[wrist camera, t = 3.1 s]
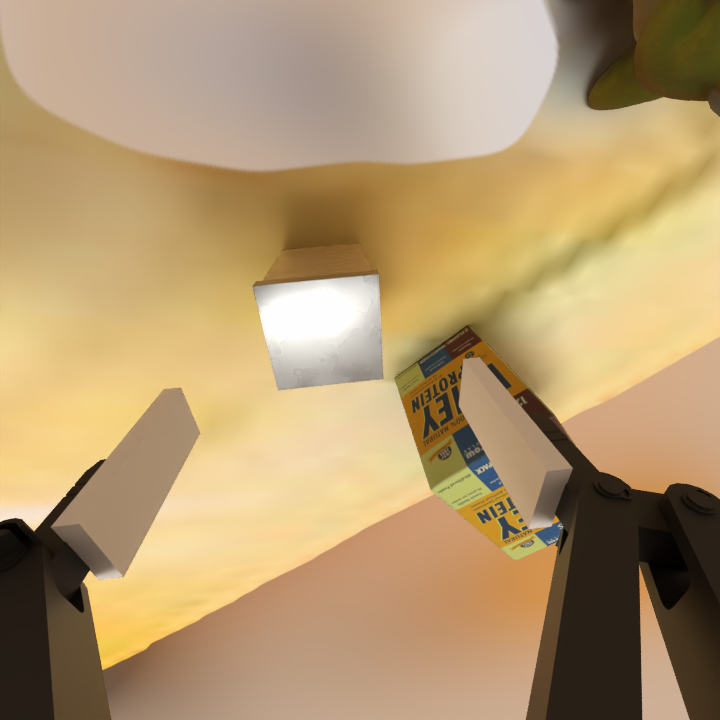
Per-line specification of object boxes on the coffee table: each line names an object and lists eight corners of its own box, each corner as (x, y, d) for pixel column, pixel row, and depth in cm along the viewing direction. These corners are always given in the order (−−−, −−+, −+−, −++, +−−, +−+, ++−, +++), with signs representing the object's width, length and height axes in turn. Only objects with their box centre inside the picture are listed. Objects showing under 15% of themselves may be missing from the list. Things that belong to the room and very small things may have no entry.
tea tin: (280, 247, 29) (252, 286, 18) (360, 240, 29) (378, 274, 19) (294, 322, 32) (278, 390, 22) (365, 315, 33) (383, 378, 22)
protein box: (467, 322, 34) (557, 414, 21) (527, 404, 41) (624, 514, 27) (391, 378, 37) (427, 491, 24) (458, 446, 44) (516, 565, 30)
